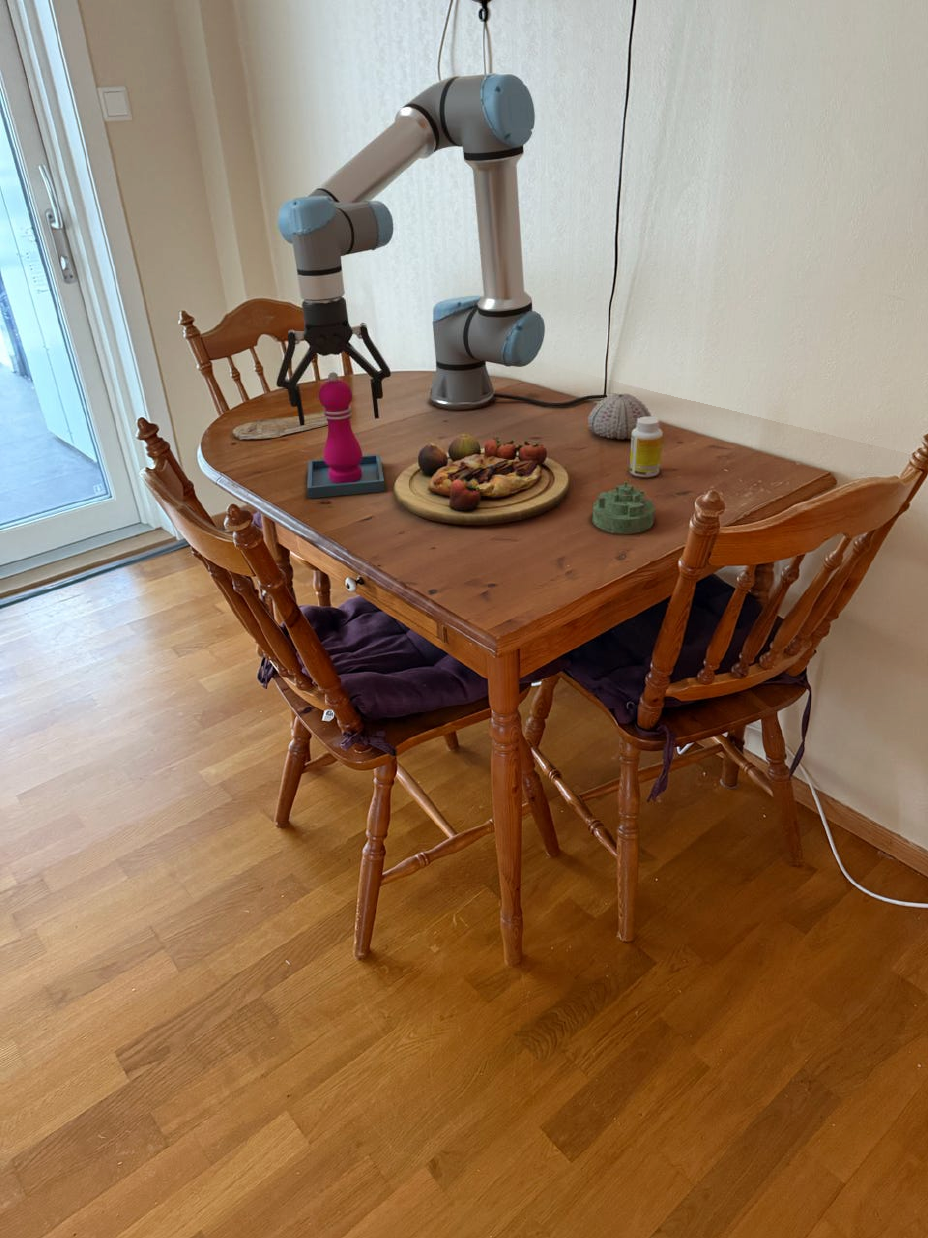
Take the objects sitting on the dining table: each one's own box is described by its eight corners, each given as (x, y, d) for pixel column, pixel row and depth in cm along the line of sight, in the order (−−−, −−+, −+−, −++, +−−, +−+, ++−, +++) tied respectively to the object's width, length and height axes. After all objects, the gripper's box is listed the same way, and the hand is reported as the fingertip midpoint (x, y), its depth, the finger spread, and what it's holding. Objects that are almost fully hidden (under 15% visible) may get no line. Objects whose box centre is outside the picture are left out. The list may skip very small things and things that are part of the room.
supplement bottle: (665, 474, 155) (670, 421, 150) (640, 480, 153) (645, 426, 148) (647, 465, 159) (651, 412, 154) (623, 471, 157) (626, 418, 152)
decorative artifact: (599, 505, 145) (586, 530, 137) (601, 467, 141) (588, 490, 133) (658, 511, 142) (647, 537, 134) (661, 472, 138) (651, 496, 130)
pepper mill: (371, 473, 160) (360, 368, 150) (352, 487, 155) (339, 379, 144) (339, 468, 163) (326, 365, 152) (319, 482, 158) (304, 376, 147)
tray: (380, 463, 166) (379, 453, 165) (385, 491, 154) (383, 480, 153) (309, 470, 165) (308, 460, 163) (308, 498, 153) (307, 487, 152)
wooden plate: (522, 543, 134) (521, 495, 129) (359, 509, 148) (354, 465, 143) (596, 473, 157) (598, 430, 153) (450, 449, 171) (448, 409, 167)
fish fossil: (332, 408, 197) (332, 403, 197) (352, 422, 190) (352, 417, 190) (227, 430, 185) (227, 425, 185) (244, 446, 178) (244, 441, 178)
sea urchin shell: (598, 419, 183) (599, 383, 178) (659, 426, 177) (662, 388, 173) (578, 439, 172) (579, 401, 168) (643, 447, 167) (646, 408, 163)
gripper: (394, 288, 146) (405, 406, 157) (250, 299, 144) (272, 419, 155) (398, 296, 140) (408, 419, 151) (247, 309, 137) (270, 433, 149)
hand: (339, 419), depth 153 cm, fingers open, 13 cm apart
